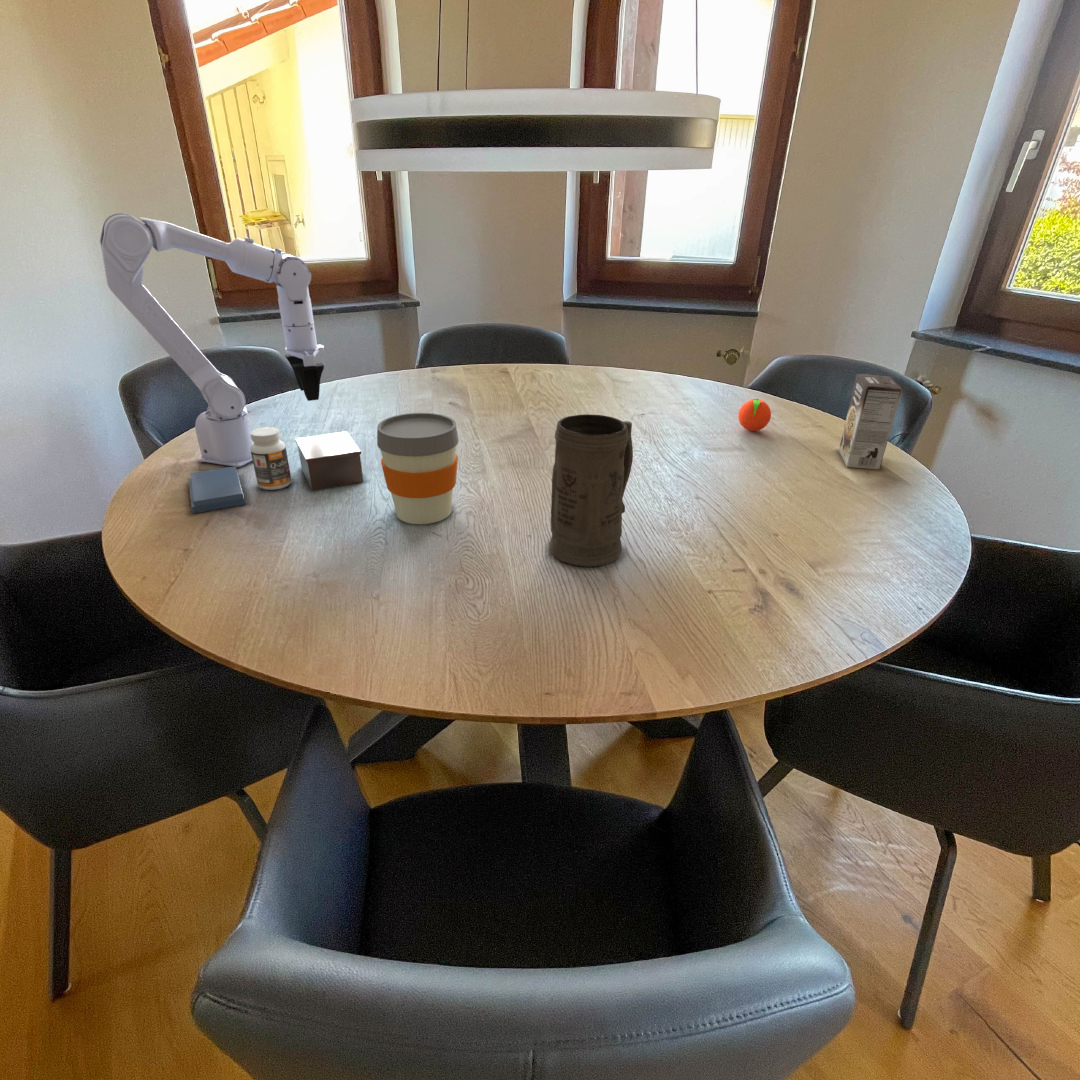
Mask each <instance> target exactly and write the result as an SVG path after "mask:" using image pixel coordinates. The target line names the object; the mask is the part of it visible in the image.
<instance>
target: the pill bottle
mask: <svg viewBox="0 0 1080 1080" xmlns="http://www.w3.org/2000/svg"><path fill="white" fill-rule="evenodd" d="M250 435H251V440H252V441H253V442H254V444H252V446H251V449H250V451H251V455H252V460H253V461H252V464H253V470H254V474H255V479H256V483H257V486H258V487H259V489H262V490H267V491H273V490H274V491H275V490H281V489H284V488H286V487H288V486H290V484H292V475H291V469H290V464H289V457H288V453H287V446H286V444H285V442H283V441H282V440H280V439H281V432H280V430H279V429H278V427H277V428H276V427H272V426H271V427H260V428H255V429H253V430H251V433H250Z"/></svg>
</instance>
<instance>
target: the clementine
mask: <svg viewBox="0 0 1080 1080" xmlns="http://www.w3.org/2000/svg"><path fill="white" fill-rule="evenodd" d="M737 414H738V415H737V418H738V422H739V424H740V426H741V427H743V429H745V430H747V431H750V432H757V431H760V430H763V429H764V428H766V426H768V425H769V423H770V420H771V418H772V410H771V407H770V405H769V404H768V403H767V402H766V401H764V400H763V399H759V398H757V399H756V398H753V399H749V400H747V401H746V402H744V403H743V404H742V405H741V406H740V408H739V410H738V413H737Z"/></svg>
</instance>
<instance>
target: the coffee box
mask: <svg viewBox="0 0 1080 1080" xmlns="http://www.w3.org/2000/svg"><path fill="white" fill-rule="evenodd" d="M903 390H904V389H903V388H902V387H901V386H900V385H899V384H898V383H897V382H896V381H895V380H894V379H893V378H892V377H891V376H890V375H877V374H866V373H865V374H864V373H857V374H856V376H855V380H854V384H853V389H852V393H851V397H850V400H849V401H850V402H849V406H848V411H847V414H846V417H845V418H846V419H845V421H844V426H843V430H842V435H841V439H840V444H839V448H838V453H839V455H840V456H841V458H842V461H843V462H844V463H845V466H846V468H855V469H868V470H880V469H881V465H882V462H883V459H884V455H885V452H886V449H887V445H888V442H889V438H890V434H891V431H892V428H893V426H894V425H893V424H894V421H895V419H896V414H897V411H898V407H899V404H900V400H901V396H902V393H903Z"/></svg>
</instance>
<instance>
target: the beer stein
mask: <svg viewBox="0 0 1080 1080" xmlns="http://www.w3.org/2000/svg"><path fill="white" fill-rule="evenodd" d="M632 429H633V423H632V422H631V421H628V420H625V421H623V420H621V419H618V418H616V417H614V416H609V415H602V414H589V413H584V414H575V415H568V416H565V417H563V418H560V419H559V420H558V421H557V423H556V427H555V432H554V439H555V449H554V463H553V465H552V473H551V499H550V503H551V504H550V532H551V537H550V541H549V550H550V553H551V554H552V555H553V557H555V558H556V559H557V560H559V561H561V562H563V563H566V564H570V565H573V566H578V567H598V566H603V565H607V564H610V563H612V562H614V561H616V560H617V559H618V558H619V557H620V556H621V554H622V548H623V547H622V540H621V537H622V534H623V517H622V516H623V514H625V512H626V505H625V503H624V501H623V499H624V495H625V492H626V488H627V484H628V482H629V478H630V475H631V471H632V466H633V460H634V448H633V447H634V446H633V439H632V438H633V437H632Z"/></svg>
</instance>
